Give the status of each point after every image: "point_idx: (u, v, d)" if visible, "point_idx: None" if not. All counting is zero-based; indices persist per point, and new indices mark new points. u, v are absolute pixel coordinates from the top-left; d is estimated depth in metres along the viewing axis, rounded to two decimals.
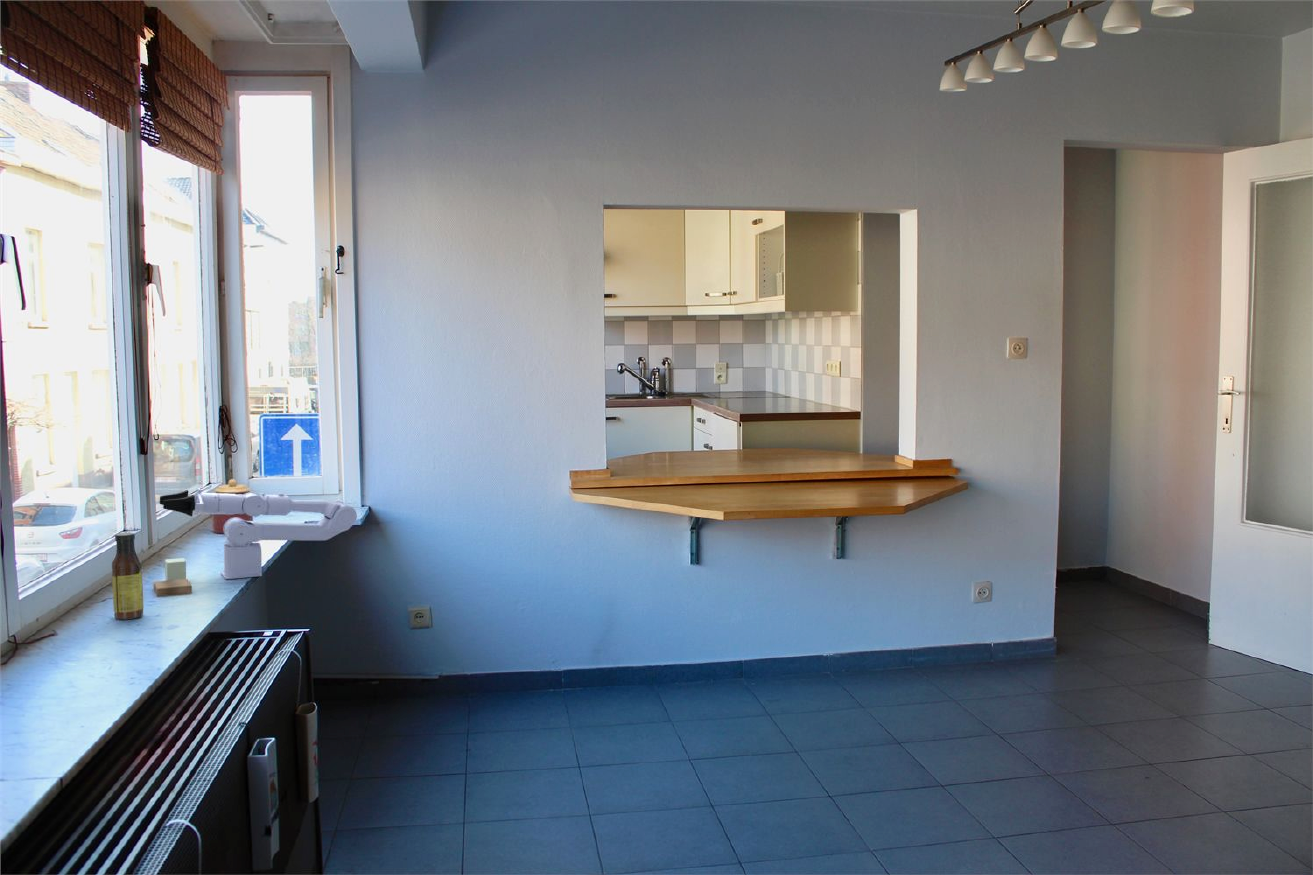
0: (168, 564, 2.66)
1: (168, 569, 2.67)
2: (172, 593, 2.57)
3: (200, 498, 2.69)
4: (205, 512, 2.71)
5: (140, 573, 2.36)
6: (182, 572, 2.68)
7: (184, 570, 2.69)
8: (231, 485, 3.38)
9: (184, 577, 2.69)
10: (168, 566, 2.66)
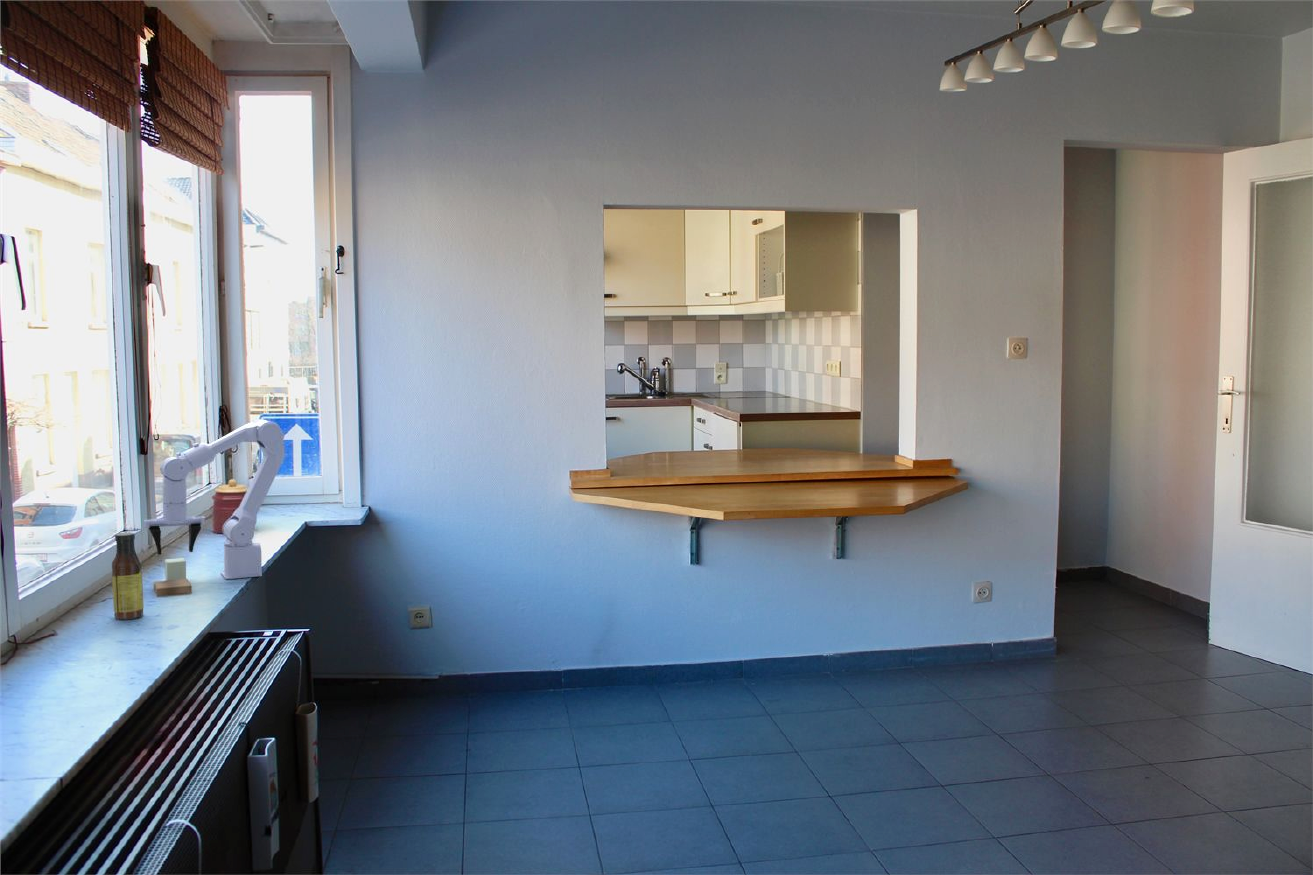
0: (168, 564, 2.66)
1: (168, 569, 2.67)
2: (172, 593, 2.57)
3: (191, 520, 2.69)
4: None
5: (140, 573, 2.36)
6: (182, 572, 2.68)
7: (184, 570, 2.69)
8: (231, 485, 3.38)
9: (184, 577, 2.69)
10: (168, 566, 2.66)
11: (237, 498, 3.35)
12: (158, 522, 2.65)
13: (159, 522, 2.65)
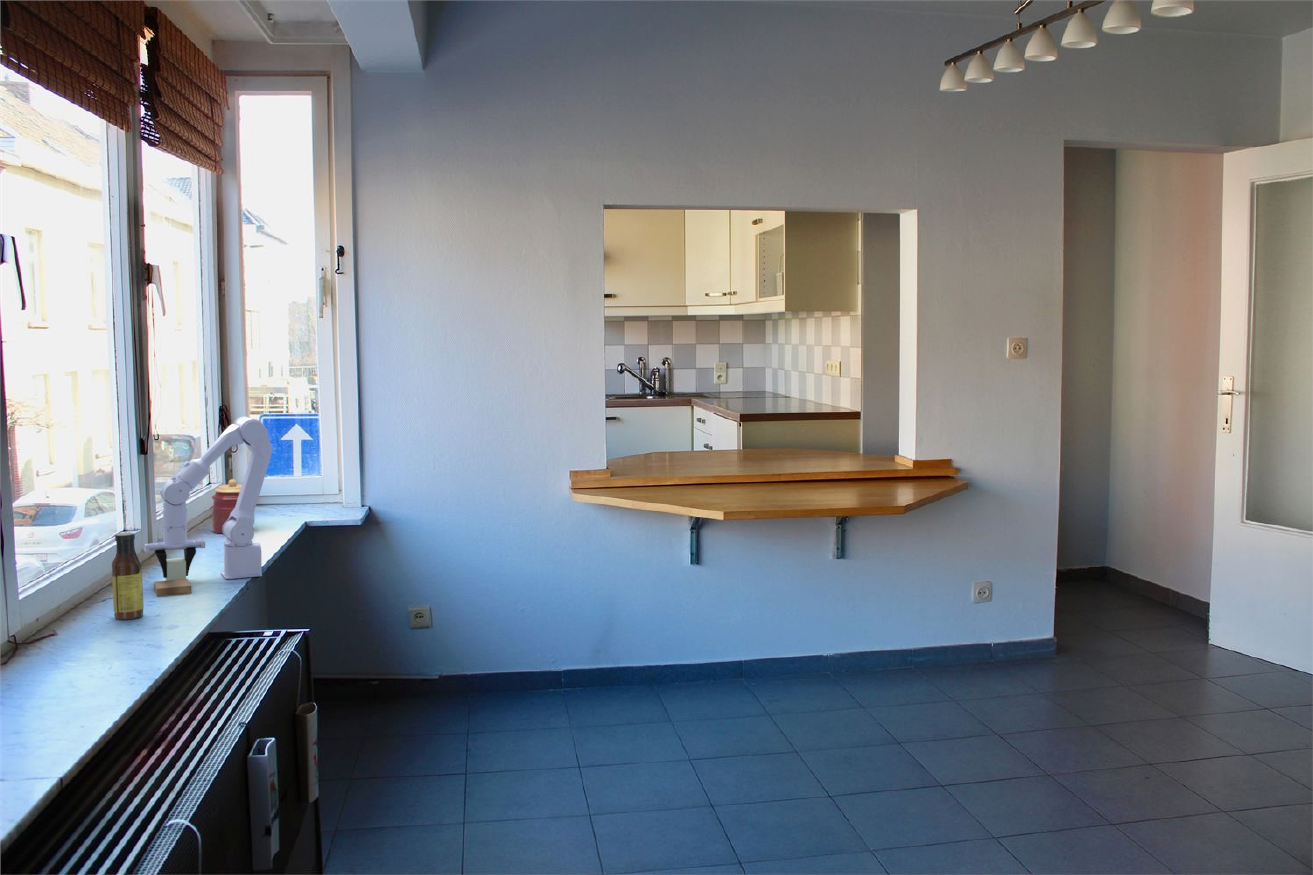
0: (168, 564, 2.66)
1: (168, 569, 2.67)
2: (172, 593, 2.57)
3: (191, 543, 2.69)
4: None
5: (140, 573, 2.36)
6: (182, 572, 2.68)
7: (184, 570, 2.69)
8: (231, 485, 3.38)
9: (184, 577, 2.69)
10: (168, 566, 2.66)
11: (237, 498, 3.35)
12: (158, 546, 2.65)
13: (159, 546, 2.65)
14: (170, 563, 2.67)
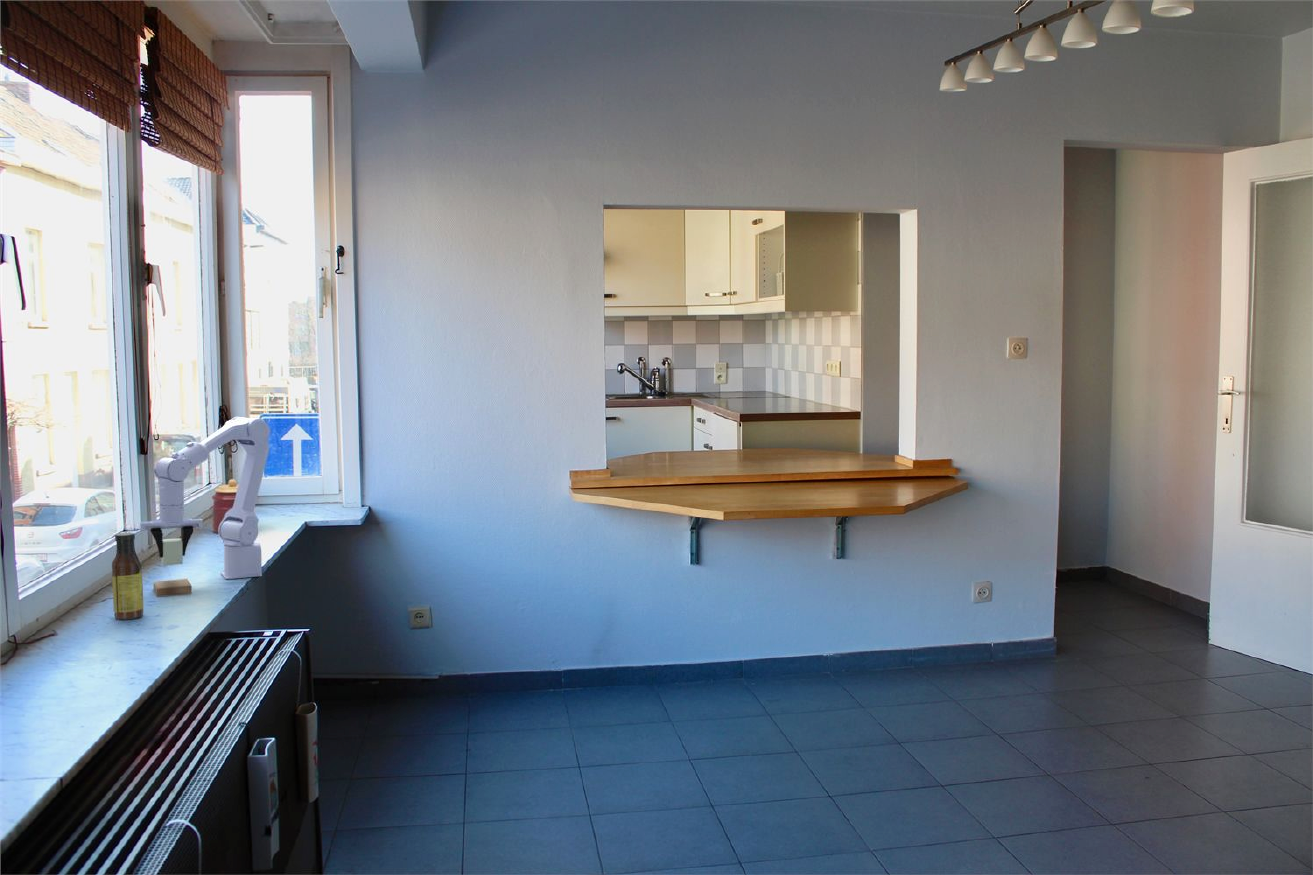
0: (164, 544, 2.58)
1: (164, 549, 2.58)
2: (172, 593, 2.57)
3: (188, 522, 2.61)
4: None
5: (140, 573, 2.36)
6: (179, 552, 2.60)
7: (180, 550, 2.60)
8: (231, 485, 3.38)
9: (180, 557, 2.60)
10: (164, 546, 2.58)
11: None
12: (154, 524, 2.57)
13: (155, 524, 2.57)
14: (166, 543, 2.58)
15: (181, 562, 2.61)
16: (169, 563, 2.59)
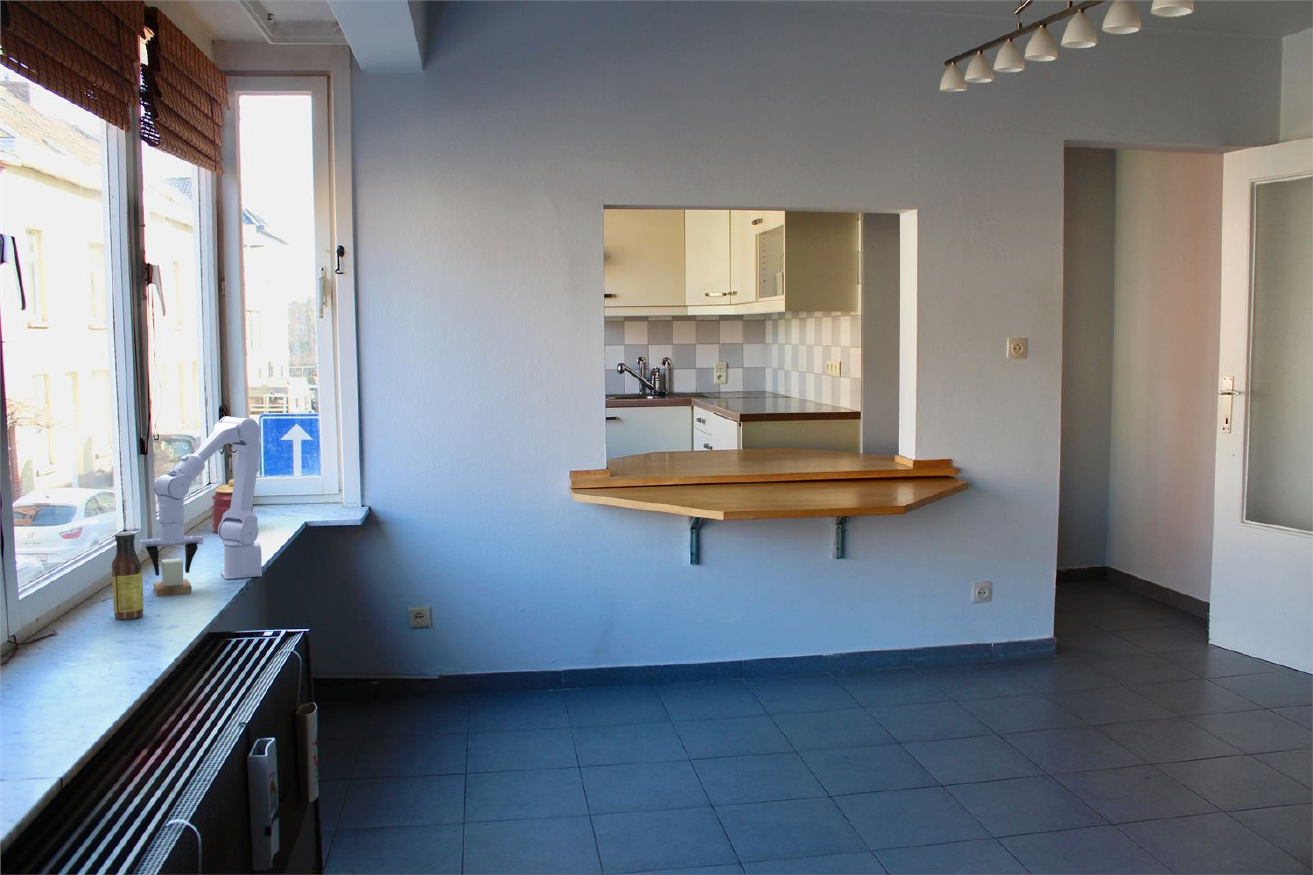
0: (165, 564, 2.57)
1: (164, 570, 2.57)
2: (172, 593, 2.57)
3: (188, 540, 2.60)
4: None
5: (140, 573, 2.36)
6: (179, 573, 2.59)
7: (181, 571, 2.59)
8: (231, 485, 3.38)
9: (181, 578, 2.59)
10: (165, 567, 2.57)
11: None
12: (154, 542, 2.55)
13: (155, 542, 2.56)
14: (167, 564, 2.57)
15: (182, 583, 2.60)
16: (170, 584, 2.58)
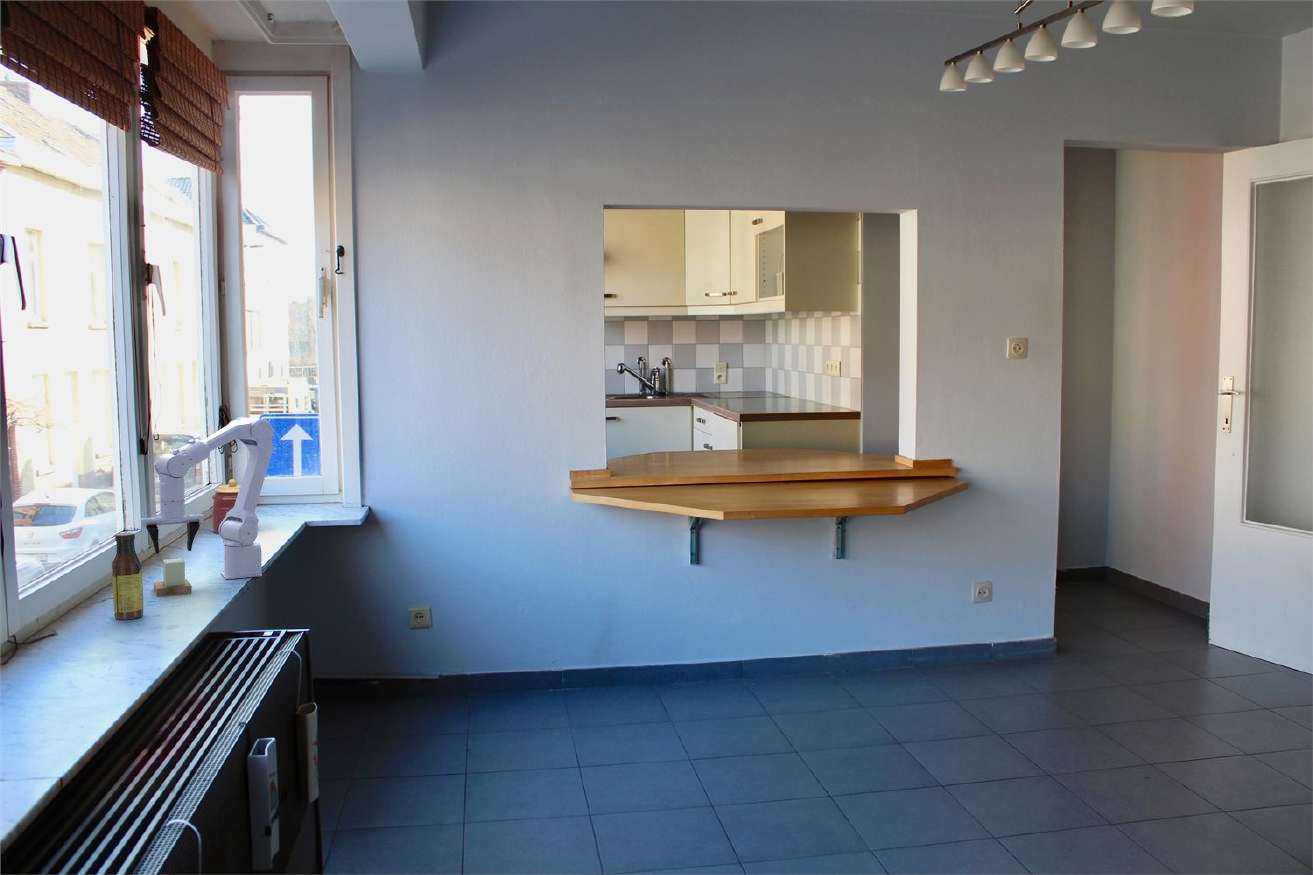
0: (166, 565, 2.57)
1: (166, 570, 2.57)
2: (172, 593, 2.57)
3: (189, 518, 2.62)
4: None
5: (140, 573, 2.36)
6: (181, 573, 2.59)
7: (183, 571, 2.59)
8: (231, 485, 3.38)
9: (183, 578, 2.60)
10: (166, 567, 2.57)
11: None
12: (155, 520, 2.58)
13: (156, 520, 2.58)
14: (168, 564, 2.57)
15: (183, 583, 2.60)
16: (171, 584, 2.58)
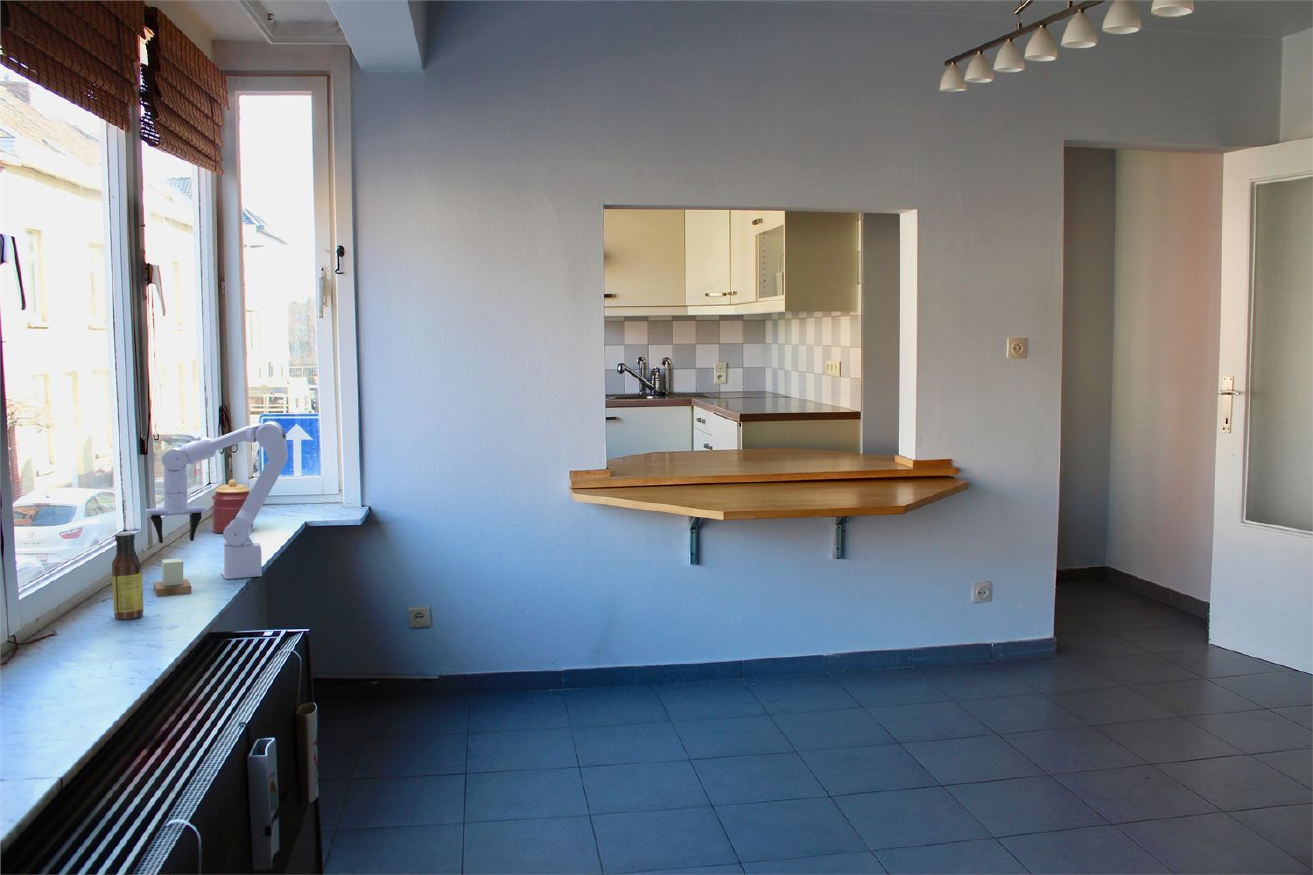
0: (165, 564, 2.57)
1: (165, 569, 2.57)
2: (172, 593, 2.57)
3: (192, 509, 2.74)
4: None
5: (140, 573, 2.36)
6: (179, 573, 2.59)
7: (181, 571, 2.59)
8: (231, 485, 3.38)
9: (181, 578, 2.59)
10: (165, 566, 2.57)
11: (237, 498, 3.35)
12: (159, 511, 2.70)
13: (160, 511, 2.70)
14: (167, 563, 2.57)
15: (182, 582, 2.60)
16: (170, 583, 2.58)
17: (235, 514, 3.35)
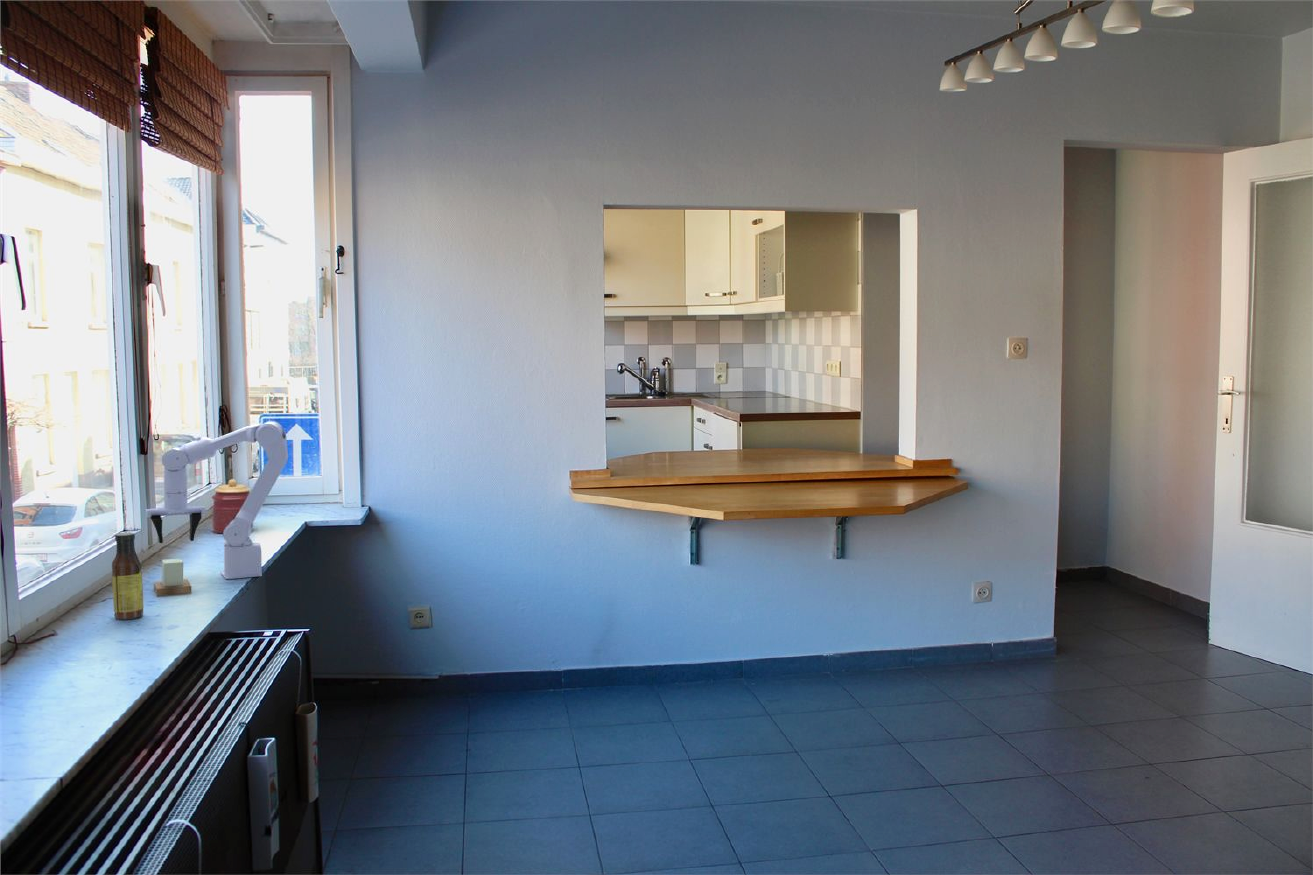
0: (165, 565, 2.57)
1: (165, 570, 2.57)
2: (172, 593, 2.57)
3: (192, 509, 2.74)
4: None
5: (140, 573, 2.36)
6: (179, 573, 2.59)
7: (181, 571, 2.59)
8: (231, 485, 3.38)
9: (181, 578, 2.59)
10: (165, 567, 2.57)
11: (237, 498, 3.35)
12: (159, 511, 2.70)
13: (160, 511, 2.70)
14: (167, 564, 2.57)
15: (182, 583, 2.59)
16: (170, 584, 2.58)
17: (235, 514, 3.35)
